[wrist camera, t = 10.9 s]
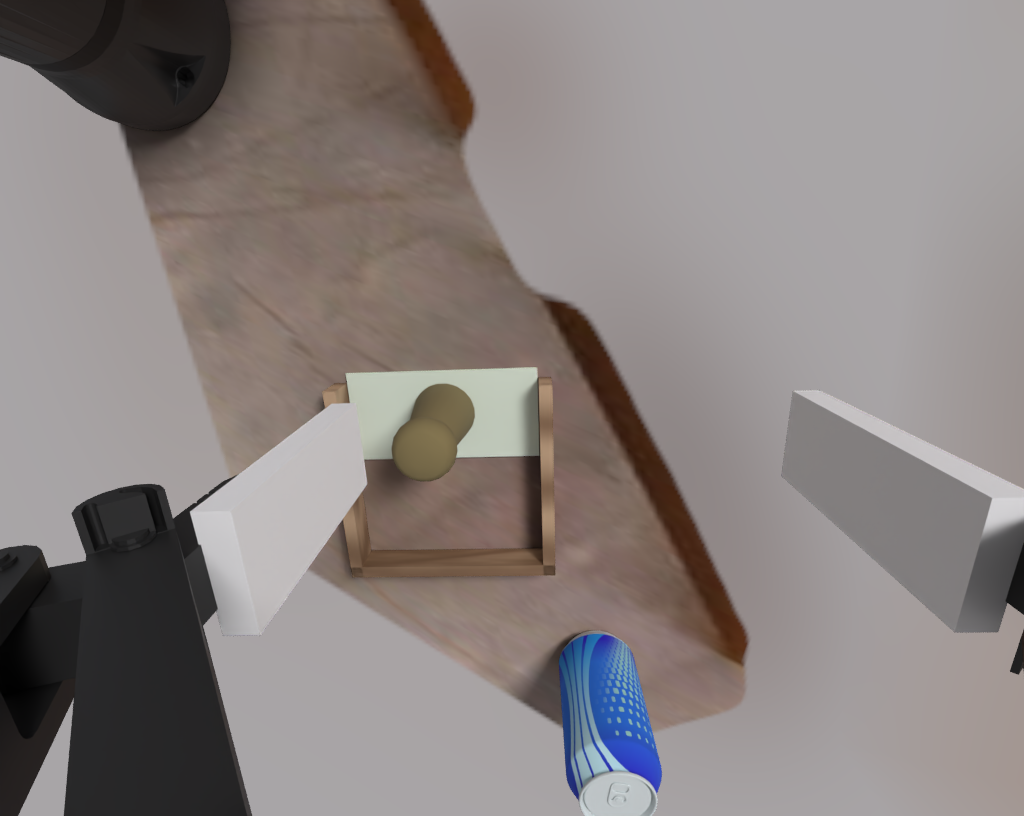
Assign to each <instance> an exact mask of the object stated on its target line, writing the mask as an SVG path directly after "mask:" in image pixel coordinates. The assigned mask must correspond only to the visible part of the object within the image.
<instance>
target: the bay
mask: <svg viewBox="0 0 1024 816" xmlns="http://www.w3.org/2000/svg"><path fill="white" fill-rule="evenodd" d="M538 381H539V422H540V462H541V502H542V542H543V548H529V549H452V550H375V551H371V545H370V539H369V532H368V525H367V518H366V511H365V504H364V497H363V491H362V492H361V494H360V495H359V497H358V498H357V500H356V501H355V502H354V504H353V505H352V507H351V508H350V509H349V511H348V512H347V514H346V515H345V517H344V518H343V523H344V529H345V535H346V541H347V547H348V554H349V560H350V566H351V572H352V577H441V576H539V575H555V524H554V462H553V400H552V380H551V377H538ZM322 393H323V399H324V406H325V408H327V407H328V406H329V405H331V404H340V403H350V401H349V395H348V388H347V383H335V384H333V385H332V386H330V387H329V388H327V389H326V390H324V391H323V392H322Z"/></svg>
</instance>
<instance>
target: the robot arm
mask: <svg viewBox="0 0 1024 816" xmlns="http://www.w3.org/2000/svg"><path fill="white" fill-rule="evenodd" d="M230 44H231V43H230V26H229V19H228V14H227V9H226V6H225V2H224V0H0V55H1V56H3V57H6V58H9V59H12V60H15V61H18V62H20V63H23V64H26V65H29V66H30V67H32V68H33V69H34V70H36V71H37V72H38V73H40V74H41V75H42V76H44V77H45V78H46V79H48V80H49V81H50V82H52V83H53V84H55V85H56V86H57V87H59V88H60V89H62V90H63V91H65V92H66V93H67V94H68V95H69V96H70V97H72V98H73V99H74V100H75V101H77V102H78V103H79V104H81V105H82V106H84V107H85V108H87V109H89V110H90V111H92V112H94V113H96V114H98V115H100V116H102V117H104V118H107V119H109V120H112V121H115V122H118V123H121V124H125V125H128V126H131V127H134V128H138V129H143V130H152V131H161V130H169V129H174V128H177V127H180V126H183V125H185V124H187V123H189V122H191V121H193V120H194V119H196V118H197V117H199V116H200V115H201V114H202V113H203V112H204V111H205V110H206V109H207V108H208V107H209V106H210V105H211V103H212V102H213V101H214V99H215V98H216V96H217V95H218V93H219V91H220V89H221V87H222V84H223V82H224V79H225V76H226V73H227V69H228V64H229V58H230ZM781 476H782V477H783V478H784V479H785V480H786V481H787V482H788V483H790V484H791V485H792V486H793V487H794V488H795V489H796V490H797V491H799V492H800V493H801V494H802V495H803V496H804V497H805V498H806V499H807V500H808V501H809V502H811V503H812V504H813V505H814V506H815V507H816V508H817V509H818V510H820V511H821V512H822V513H823V514H824V515H825V516H826V517H827V518H828V519H830V520H831V521H832V522H833V523H834V524H835V525H836V526H837V527H839V529H841V530H842V531H843V532H844V533H845V534H846V535H847V536H848V537H849V538H850V539H852V540H853V541H854V542H855V543H856V544H857V545H858V546H859V547H860V548H862V549H863V550H864V551H865V552H866V553H867V554H868V555H869V556H871V557H872V558H873V559H874V560H875V561H876V562H877V563H878V564H879V565H880V566H881V567H883V568H884V569H885V570H886V571H887V572H888V573H889V574H890V575H892V576H893V577H894V578H895V579H896V580H897V581H898V582H899V583H900V584H902V585H903V586H904V587H905V588H906V589H907V590H908V591H909V592H910V593H911V594H913V595H914V596H915V597H916V598H917V599H918V600H919V601H920V602H922V604H924V605H925V606H926V607H927V608H928V609H929V610H930V611H931V612H932V613H934V614H935V615H936V616H937V617H938V618H939V619H940V620H941V621H943V622H944V623H945V624H946V625H947V626H948V627H949V628H950V629H951V630H953V631H954V632H998V631H999V628H1000V625H1001V622H1002V618H1003V615H1004V612H1005V609H1006V606H1007V603H1009V604H1010V605H1011V606H1013V607H1014V608H1015V609H1017V610H1018V611H1019V612H1021V613H1022V614H1023V615H1024V489H1022V488H1020V487H1018V486H1016V485H1014V484H1012V483H1010V482H1008V481H1006V480H1004V479H1002V478H1000V477H998V476H996V475H993V474H992V473H989V472H987V471H985V470H983V469H981V468H979V467H977V466H975V465H973V464H971V463H969V462H967V461H965V460H963V459H960V458H958V457H956V456H954V455H952V454H950V453H948V452H946V451H944V450H942V449H940V448H938V447H936V446H933V445H932V444H930V443H927V442H925V441H923V440H921V439H919V438H917V437H915V436H913V435H911V434H909V433H907V432H905V431H903V430H901V429H898V428H897V427H894V426H892V425H890V424H888V423H886V422H884V421H882V420H880V419H878V418H876V417H874V416H871V415H870V414H868V413H865V412H863V411H861V410H859V409H857V408H855V407H853V406H851V405H849V404H847V403H845V402H843V401H841V400H838V399H837V398H835V397H832V396H830V395H828V394H826V393H824V392H822V391H820V390H810V391H793V394H792V400H791V408H790V415H789V423H788V430H787V437H786V445H785V453H784V459H783V467H782V474H781ZM366 485H367V478H366V471H365V464H364V457H363V450H362V443H361V435H360V428H359V421H358V414H357V407H356V403H340V404H331V405H329V406H328V407H327V408H325V409H324V410H323V411H321V412H320V413H319V414H317V415H316V416H315V417H314V418H312V419H311V420H310V421H308V422H307V423H306V424H304V425H303V426H302V427H300V428H299V429H298V430H296V431H295V432H294V433H293V434H291V435H290V436H289V437H287V438H286V439H285V440H283V441H282V442H281V443H279V444H278V445H277V446H275V447H274V448H273V449H272V450H270V451H269V452H268V453H266V454H265V455H264V456H262V457H261V458H260V459H258V460H257V461H256V462H254V463H253V464H252V465H251V466H249V467H248V468H247V469H245V470H244V471H243V472H241V473H240V474H238V475H236V476H234V477H232V478H230V479H227V480H225V481H223V482H222V483H220V484H219V485H218V486H216V487H215V488H214V489H212V490H211V491H210V492H209V494H206V495H204V496H203V497H202V498H200V499H199V500H198V501H197V503H194V504H192V505H191V506H190V507H188V508H187V509H185V510H184V511H183V512H181V513H180V514H179V515H177V516H176V517H175V518H174V519H173V518H172V514H171V510H170V507H169V503H168V500H167V496H166V492H165V489H164V488H163V487H161V486H160V485H155V484H141V485H133V486H128V487H123V488H118V489H115V490H112V491H108V492H105V493H102V494H100V495H97V496H95V497H93V498H90V499H88V500H86V501H85V502H83V503H81V504H80V505H78V506H77V507H76V508H75V509H74V511H73V512H72V516H73V519H74V521H75V524H76V527H77V530H78V533H79V536H80V539H81V542H82V545H83V547H84V550H85V553H86V561H83V562H77V563H72V564H67V565H61V566H55V567H50V568H48V566H47V563H46V561H45V558H44V555H43V553H42V550H41V549H40V548H38V547H37V546H29V545H23V546H16V547H8V548H4V549H1V550H0V816H18V815H19V813H20V810H21V808H22V806H23V804H24V802H25V800H26V798H27V795H28V794H29V791H30V789H31V787H32V785H33V783H34V781H35V779H36V777H37V774H38V772H39V770H40V768H41V766H42V764H43V762H44V759H45V757H46V755H47V753H48V751H49V749H50V747H51V745H52V743H53V741H54V738H55V736H56V734H57V732H58V730H59V728H60V726H61V724H62V721H63V719H64V717H65V715H66V713H67V711H68V709H69V707H70V705H71V702H72V700H73V698H74V704H73V716H72V727H71V739H70V750H69V762H68V774H67V785H66V797H65V809H64V816H252V813H251V809H250V805H249V802H248V798H247V794H246V790H245V787H244V782H243V778H242V775H241V771H240V767H239V763H238V759H237V755H236V752H235V747H234V744H233V740H232V736H231V732H230V728H229V724H228V720H227V716H226V713H225V709H224V705H223V701H222V697H221V693H220V689H219V685H218V682H217V678H216V674H215V670H214V666H213V663H212V659H211V655H210V651H209V647H208V643H207V639H206V636H205V632H204V629H203V625H204V624H205V623H206V622H207V620H208V619H209V618H210V617H211V616H212V615H213V614H214V613H215V611H216V612H217V616H218V619H219V623H220V627H221V631H222V634H223V636H253V635H254V636H258V635H259V636H260V635H261V634H262V633H263V631H264V630H265V629H266V627H267V626H268V624H269V623H270V621H271V620H272V619H273V617H274V616H275V614H276V613H277V612H278V610H279V609H280V607H281V606H282V604H283V603H284V601H285V600H286V599H287V597H288V596H289V595H290V593H291V592H292V590H293V589H294V587H295V586H296V585H297V583H298V582H299V580H300V579H301V578H302V576H303V575H304V573H305V572H306V570H307V569H308V568H309V566H310V565H311V563H312V562H313V561H314V559H315V558H316V556H317V555H318V553H319V552H320V551H321V549H322V548H323V546H324V545H325V544H326V542H327V541H328V539H329V538H330V536H331V535H332V534H333V532H334V531H335V529H336V528H337V526H338V525H339V524H340V522H341V521H342V519H343V518H344V517H345V515H346V514H347V512H348V511H349V509H350V508H351V507H352V505H353V504H354V502H355V501H356V500H357V498H358V497H359V495H360V494H361V492H362V491H363V490H364V488H365V487H366ZM1022 668H1024V630H1023V634H1022V636H1021V639H1020V643H1019V646H1018V649H1017V652H1016V655H1015V658H1014V661H1013V664H1012V667H1011V670H1010V672H1013V673H1016V674H1019V673H1020V671H1021V670H1022Z"/></svg>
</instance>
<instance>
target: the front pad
mask: <svg viewBox="0 0 1024 816" xmlns="http://www.w3.org/2000/svg"><path fill="white" fill-rule="evenodd" d="M346 379H347V386H348V393H349V400H350V403H356V407H357V414H358V421H359V428H360V435H361V443H362V450H363V457H364V460H369V459H393V458H392V443H393V438H394V436H395V434H396V433H397V431H398V430H399V428H400V427H401V426H402V425H404V424H405V423H406V422H408V421H410V418H411V414H412V411H413V408H414V405H415V401H416V399H417V398H418V396H419V395H420V393H421V392H422V391H423V390H425V389H426V388H427V387H429V386H432V385H435V384H445V383H447V384H451V385H454V386H457V387H458V388H460V389H461V390H463V391H465V393H466V394H467V395H468V396H469V397H470V399H471V401H472V403H473V406H474V409H475V419H474V422H473V426H472V427H471V429H470V430H469V432H468V433H467V434H466V435H465V437H464V438H463V439H462V440H461V441H460V443H459V444H458V445H457V451H458V452H457V456H456V458H459V457H505V456H539V422H538V383H537V367H527V368H494V369H462V370H430V371H397V372H365V373H346Z"/></svg>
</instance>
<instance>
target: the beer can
mask: <svg viewBox="0 0 1024 816" xmlns="http://www.w3.org/2000/svg"><path fill="white" fill-rule="evenodd" d="M559 673H560V688H561V703H562V719H563V733H564V749H565V764H566V776H567V781H568V784H569V786H570V788H571V790H572V792H573V793H574V795H575V796H576V798H577V799H578V800H579V805H580V809H581V811H582V813H583V814H584V816H652V815H653V813H654V812H655V810H656V807H657V802H658V801H657V792H658V789H659V786H660V782H661V777H662V771H661V765H660V761H659V757H658V753H657V749H656V745H655V741H654V737H653V733H652V729H651V725H650V721H649V717H648V713H647V709H646V705H645V701H644V697H643V693H642V689H641V685H640V681H639V677H638V673H637V669H636V665H635V661H634V657H633V654H632V652H631V650H630V649H629V647H628V646H627V645H626V644H625V643H624V642H623V641H621V640H620V639H618V638H617V637H615V636H614V635H612V634H610V633H607V632H604V631H587V632H584V633H581V634H579V635H577V636H576V637H574V638H573V639H572V640H571V641H570V642H569V644H568V645H567V646H566V647H565V648H564V649H563V651H562V653H561V655H560V659H559Z"/></svg>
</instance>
